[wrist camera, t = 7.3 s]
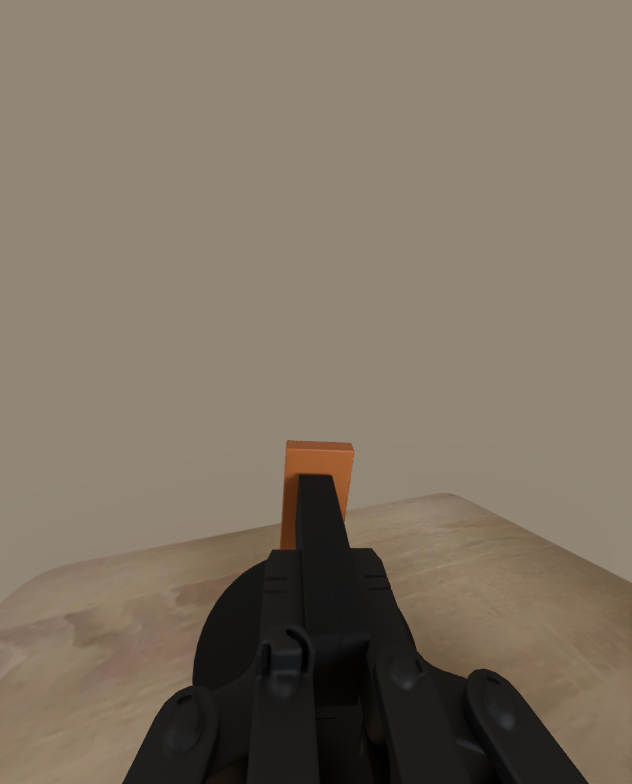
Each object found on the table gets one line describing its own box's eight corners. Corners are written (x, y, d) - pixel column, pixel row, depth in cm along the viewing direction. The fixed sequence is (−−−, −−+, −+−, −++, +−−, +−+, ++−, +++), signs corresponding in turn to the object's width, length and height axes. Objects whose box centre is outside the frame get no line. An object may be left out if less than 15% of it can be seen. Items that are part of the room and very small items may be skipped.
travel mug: (402, 960, 13) (474, 806, 9) (173, 993, 12) (145, 836, 8) (356, 687, 22) (382, 551, 18) (223, 693, 21) (221, 550, 17)
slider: (335, 584, 16) (354, 451, 13) (277, 584, 15) (286, 448, 13) (328, 537, 19) (342, 421, 16) (279, 536, 18) (286, 418, 16)
